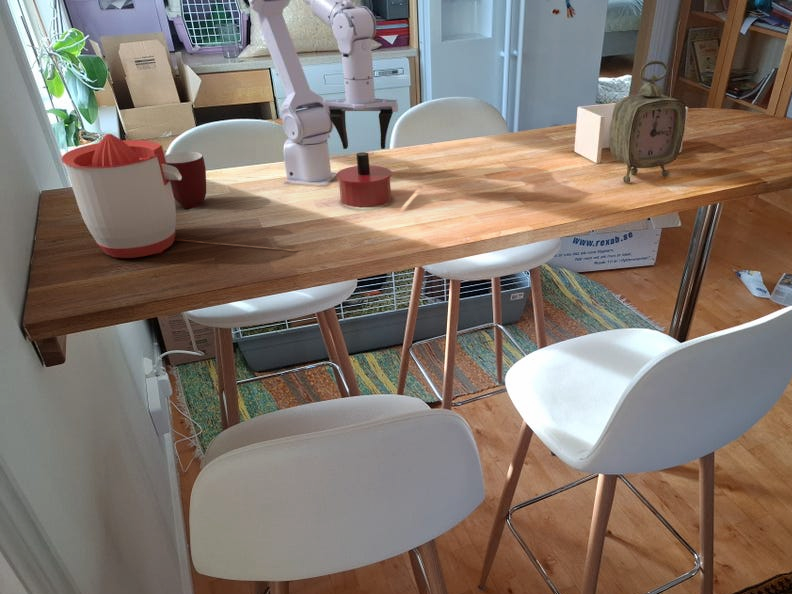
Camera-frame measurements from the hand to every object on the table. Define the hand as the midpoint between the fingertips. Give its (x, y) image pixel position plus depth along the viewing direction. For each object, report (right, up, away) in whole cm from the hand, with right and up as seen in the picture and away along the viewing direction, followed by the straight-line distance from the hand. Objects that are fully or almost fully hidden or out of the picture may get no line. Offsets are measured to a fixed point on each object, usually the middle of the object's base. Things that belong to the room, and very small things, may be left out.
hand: (364, 147), depth 142 cm
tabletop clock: (+61, -1, +18) cm, 63 cm away
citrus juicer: (-37, -23, -17) cm, 47 cm away
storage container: (+62, +10, +35) cm, 71 cm away
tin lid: (0, -6, 0) cm, 6 cm away
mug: (-37, -12, 0) cm, 39 cm away
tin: (0, -10, +3) cm, 11 cm away
